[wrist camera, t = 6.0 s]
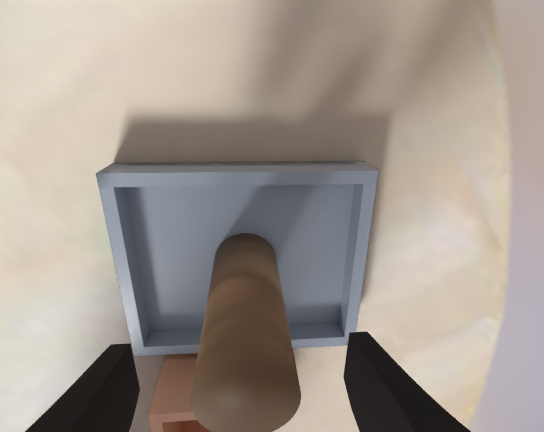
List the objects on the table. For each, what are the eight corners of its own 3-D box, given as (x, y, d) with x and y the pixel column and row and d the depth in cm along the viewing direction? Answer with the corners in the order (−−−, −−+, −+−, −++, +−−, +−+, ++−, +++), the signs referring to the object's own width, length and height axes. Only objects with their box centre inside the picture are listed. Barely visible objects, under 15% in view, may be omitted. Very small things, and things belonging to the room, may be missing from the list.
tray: (143, 332, 19) (133, 356, 17) (112, 163, 15) (95, 173, 13) (344, 322, 20) (353, 344, 18) (364, 161, 16) (378, 170, 14)
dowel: (216, 287, 17) (194, 441, 10) (213, 233, 16) (185, 362, 8) (275, 285, 17) (298, 433, 10) (276, 232, 16) (303, 356, 9)
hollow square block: (176, 416, 22) (162, 485, 18) (166, 351, 19) (147, 415, 16) (262, 411, 22) (265, 477, 18) (261, 346, 20) (265, 407, 16)
